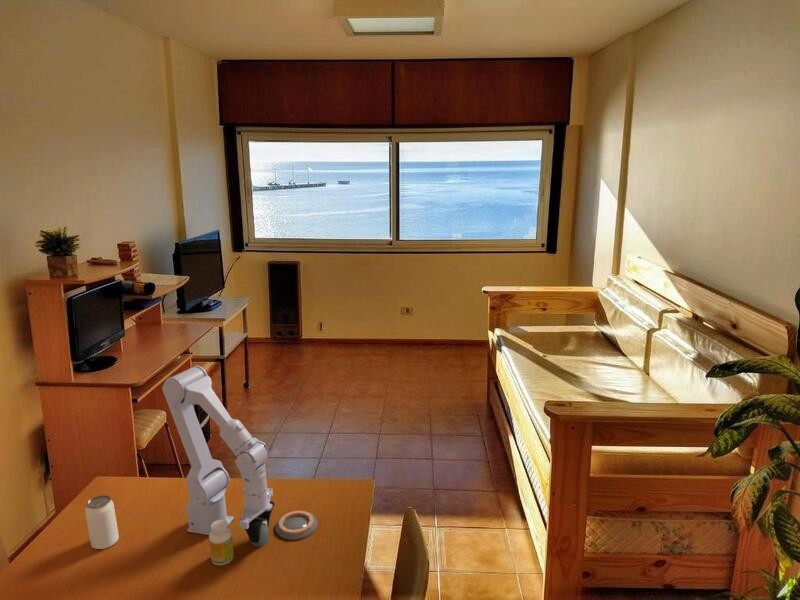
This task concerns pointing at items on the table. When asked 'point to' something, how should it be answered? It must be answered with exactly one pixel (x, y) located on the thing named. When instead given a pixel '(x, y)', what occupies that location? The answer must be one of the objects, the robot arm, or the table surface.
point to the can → (101, 522)
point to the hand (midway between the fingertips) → (259, 535)
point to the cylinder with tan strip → (262, 533)
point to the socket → (296, 525)
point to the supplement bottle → (221, 543)
